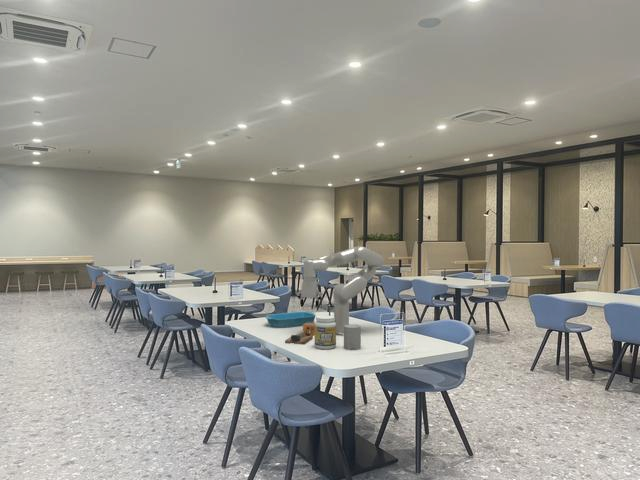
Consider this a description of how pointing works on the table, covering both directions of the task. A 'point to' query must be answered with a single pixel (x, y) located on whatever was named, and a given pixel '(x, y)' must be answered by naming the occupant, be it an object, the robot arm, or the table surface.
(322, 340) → the supplement tub
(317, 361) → the table surface
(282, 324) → the casserole dish
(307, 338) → the rail board
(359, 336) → the gray cylinder
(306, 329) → the lock block
